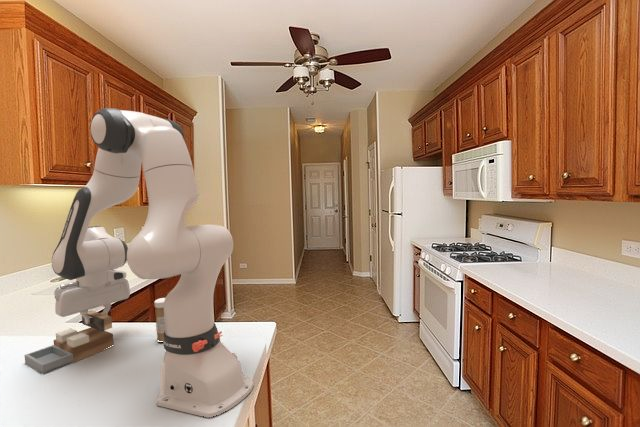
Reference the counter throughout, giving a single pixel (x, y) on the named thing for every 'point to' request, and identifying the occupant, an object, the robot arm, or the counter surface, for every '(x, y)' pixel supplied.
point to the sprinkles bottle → (160, 318)
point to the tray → (48, 359)
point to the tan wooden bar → (98, 321)
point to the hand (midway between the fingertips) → (96, 320)
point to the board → (88, 344)
